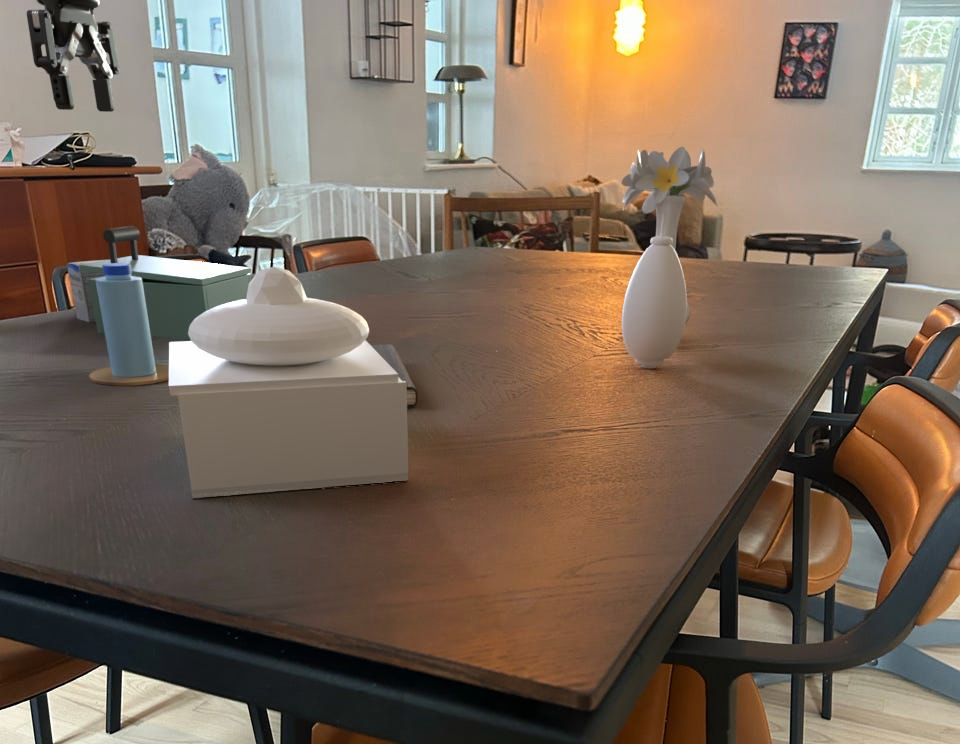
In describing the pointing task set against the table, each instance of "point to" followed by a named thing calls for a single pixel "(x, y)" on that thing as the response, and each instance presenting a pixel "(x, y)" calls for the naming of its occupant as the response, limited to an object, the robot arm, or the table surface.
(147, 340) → the water bottle
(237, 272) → the lid
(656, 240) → the white teardrop bottle
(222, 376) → the white knob-topped box
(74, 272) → the medicine box
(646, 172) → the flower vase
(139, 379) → the coaster
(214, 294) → the cool box
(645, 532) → the table surface
